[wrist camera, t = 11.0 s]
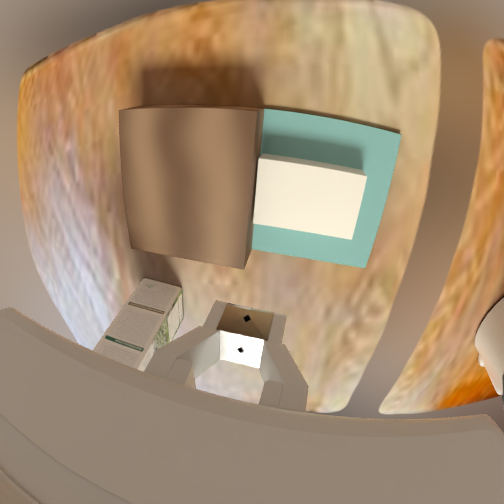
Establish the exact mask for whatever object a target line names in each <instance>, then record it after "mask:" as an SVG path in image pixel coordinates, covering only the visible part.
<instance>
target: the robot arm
mask: <svg viewBox="0 0 504 504" xmlns="http://www.w3.org/2000/svg"><path fill="white" fill-rule="evenodd" d="M285 322H286V314H281V313H274V312H269V311H264V310H259V309H253V308H248V307H244V306H239V305H235V304H231V303H226V302H222V301H218V300H216V301H215V302H214V304H213V307H212V309H211V311H210V313H209V315H208V317H207V319H206V321H205V323H204V325H203V327H202V326H199V327H197V328H195V329H193V330H192V331H190V332H188V333H186V334H184V335H183V336H181V337H179V338H177V339H175V340H173V341H172V342H170V343H168V344H166V345H164V346H162V347H161V348H159V349H157V350H156V351H155V353H154V355H153V356H152V358H151V360H150V362H149V363H148V365H147V367H146V369H145V370H144V372H143V371H140V370H138V369H135V368H132V367H130V366H127V365H125V364H122V363H120V362H117V361H115V360H113V359H110V358H108V357H106V356H103V355H101V354H99V353H96V352H94V351H92V350H90V349H88V348H86V347H83V346H81V345H79V344H77V343H75V342H73V341H71V340H69V339H67V338H65V337H63V336H61V335H59V334H57V333H56V332H54V331H52V330H50V329H48V328H46V327H44V326H43V325H41V324H39V323H37V322H36V321H34V320H32V319H30V318H29V317H27V316H25V315H24V314H22V313H21V312H19V311H17V310H16V309H14V308H10V307H9V308H5V309H1V310H0V504H504V433H503V432H502V431H501V429H500V428H499V427H498V426H497V424H496V423H495V422H494V421H493V420H492V419H491V418H490V417H489V416H488V415H485V414H481V415H472V416H463V417H451V418H436V419H399V420H398V419H368V418H352V417H339V416H330V415H321V414H313V413H306V412H305V411H306V403H307V395H308V385H307V383H306V381H305V379H304V378H303V376H302V374H301V372H300V371H299V369H298V367H297V365H296V364H295V362H294V360H293V358H292V356H291V355H290V353H289V351H288V349H287V347H286V346H285V345H284V344H281V343H282V338H283V333H284V327H285ZM475 347H476V349H477V350H478V352H479V358H478V362H479V364H480V366H485V368H486V370H487V372H488V374H489V376H490V379H491V381H492V383H493V385H494V387H495V390H496V392H497V393H498V394H500V395H502V402H503V405H504V298H502V299H501V300H500V301H499V302H498V303H497V304H496V305H495V306H494V307H493V308H492V310H491V311H490V312H489V313H488V314H487V316H486V317H485V319H484V320H483V322H482V323H481V325H480V327H479V329H478V331H477V334H476V337H475ZM220 359H223V360H228V361H233V362H238V363H242V364H246V365H250V366H254V367H258V368H259V370H260V373H261V376H262V378H263V381H264V387H263V391H262V394H261V398H260V402H259V404H254V403H249V402H245V401H240V400H236V399H232V398H228V397H224V396H220V395H216V394H212V393H208V392H205V391H201V390H198V389H196V385H195V378H197V377H198V376H199V375H201V374H202V373H203V372H205V371H206V370H207V369H208V368H210V367H211V366H212V365H214V364H215V363H216V362H217V361H219V360H220ZM503 408H504V407H503Z"/></svg>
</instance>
